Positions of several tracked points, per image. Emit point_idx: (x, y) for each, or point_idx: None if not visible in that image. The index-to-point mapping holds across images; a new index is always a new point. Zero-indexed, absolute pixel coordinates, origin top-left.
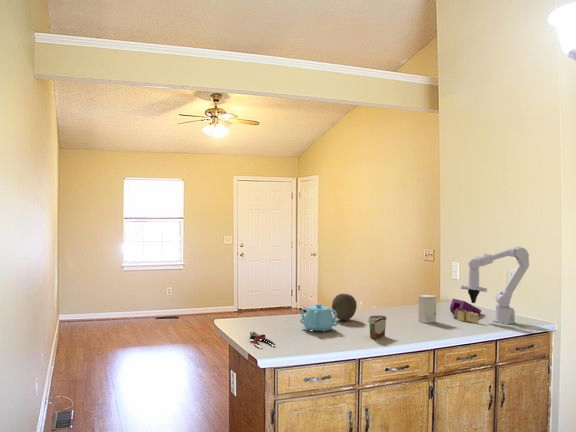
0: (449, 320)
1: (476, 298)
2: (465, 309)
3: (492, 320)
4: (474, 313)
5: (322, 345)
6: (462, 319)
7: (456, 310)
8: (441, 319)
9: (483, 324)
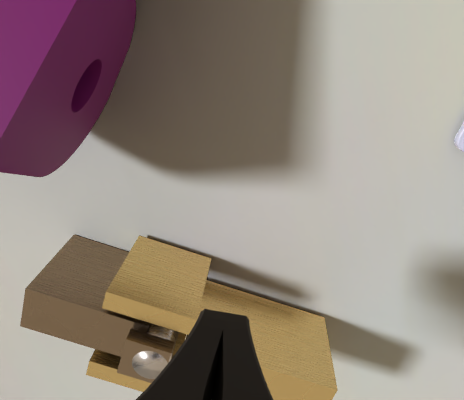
0: (70, 342)
1: (263, 375)
2: (71, 110)
3: (458, 148)
4: (289, 394)
5: None
6: None
7: (45, 318)
8: (2, 343)
9: (375, 330)
